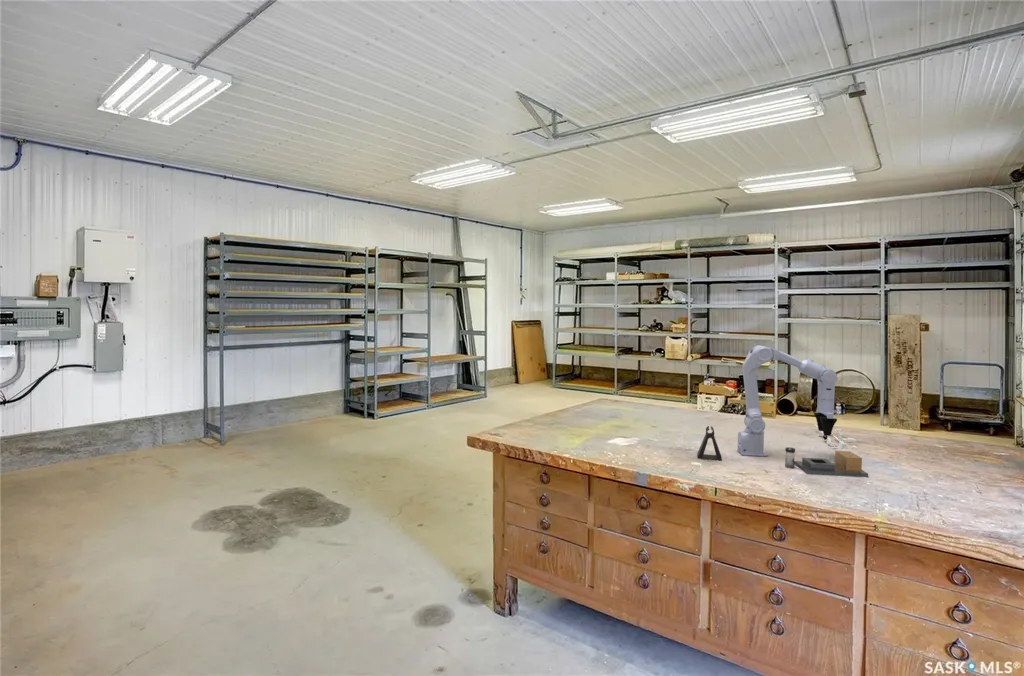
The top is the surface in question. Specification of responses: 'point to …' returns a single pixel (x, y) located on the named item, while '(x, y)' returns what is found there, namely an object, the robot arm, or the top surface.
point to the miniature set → (841, 443)
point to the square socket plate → (834, 465)
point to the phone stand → (703, 446)
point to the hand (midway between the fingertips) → (824, 433)
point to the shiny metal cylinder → (789, 457)
